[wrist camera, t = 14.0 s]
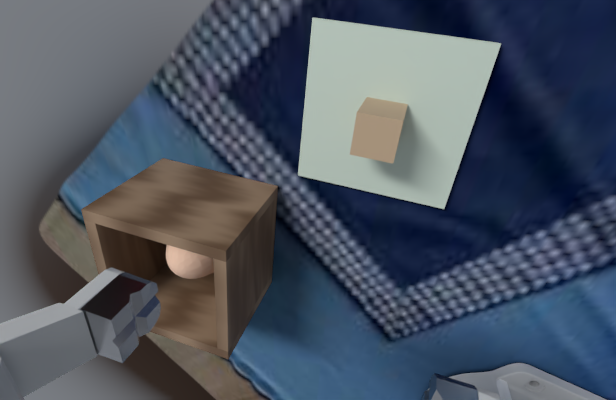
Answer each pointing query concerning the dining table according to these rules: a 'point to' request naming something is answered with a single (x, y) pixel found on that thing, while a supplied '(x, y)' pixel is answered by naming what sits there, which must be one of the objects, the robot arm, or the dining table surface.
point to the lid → (391, 108)
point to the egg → (188, 263)
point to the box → (191, 246)
